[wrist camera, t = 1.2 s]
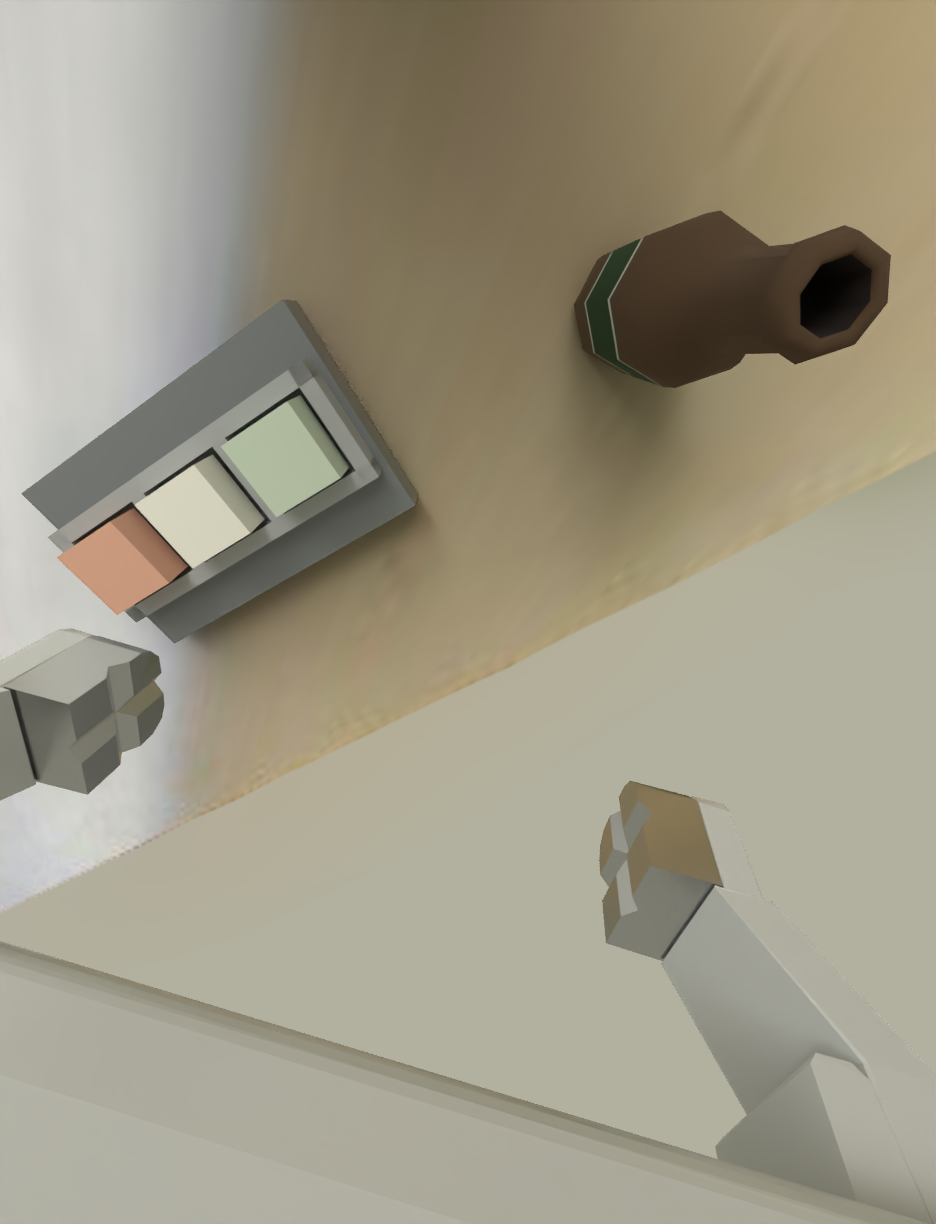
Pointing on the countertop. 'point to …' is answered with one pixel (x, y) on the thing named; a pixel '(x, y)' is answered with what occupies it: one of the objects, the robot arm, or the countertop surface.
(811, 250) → the beer bottle
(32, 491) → the keypad
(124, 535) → the terracotta key
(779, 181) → the countertop surface
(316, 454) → the sage key
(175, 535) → the cream key
